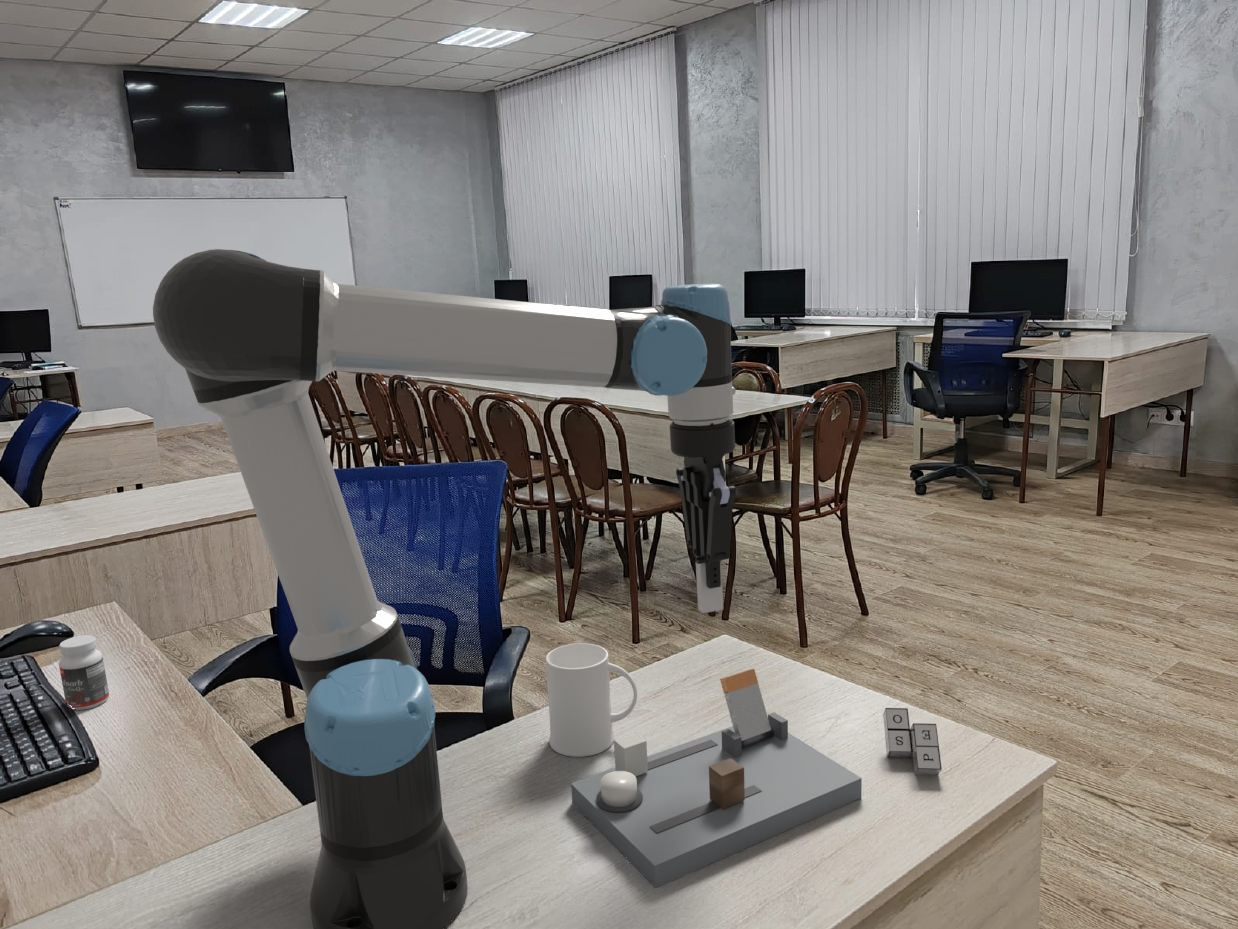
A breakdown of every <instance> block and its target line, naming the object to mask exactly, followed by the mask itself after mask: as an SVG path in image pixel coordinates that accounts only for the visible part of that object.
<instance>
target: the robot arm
mask: <svg viewBox="0 0 1238 929" xmlns="http://www.w3.org/2000/svg"><path fill="white" fill-rule="evenodd" d="M152 317H153V322H154V323H153V325H154V328H155V331H156V333H157V336H158V339H159V341H160V343H161V344H162V346H163V349H165V351H166V353H167V354H169V355H170V357H171V358H172V359H173V360H174V361H175V362H176V363H178V365H180V366H182V367H183V368H184V370H185V372H186V375H187V378H188V381H189V383H190V385H191V388H192V391H193V393H194V396H195V399H196V401H197V404H198V406H200V407H201V408H204V409H206V410H207V411H209V412H211V413H213V414H216V415H217V416H218V417H220V419H221V421H222V424H223V426H224V429H225V432H226V436H227V437H228V441H229V443H230V446H231V449H232V451H233V454H234V457H235V460H236V462H237V465H238V467H239V472H240V474H241V477H242V479H243V482H244V484H245V485H244V486H245V487H246V490H247V493H248V496H249V498H250V501H251V504H252V506H253V509H254V512H255V514H256V517H257V520H258V523H259V525H260V529H261V532H262V534H263V536H264V540H265V542H266V545H267V547H268V551H269V553H270V556H271V558H272V561H273V564H274V567H275V570H276V572H277V575H278V578H279V581H280V583H281V586H282V589H283V592H284V594H285V597H286V599H287V603H288V606H289V607H290V611H291V613H292V616H293V619H294V622H295V625H296V628H297V633H296V634H295V636H294V637H293V640H292V641H291V643H290V645H289V653H290V655H291V659H292V661H293V664H294V667H295V669H296V672H297V675H298V678H299V681H300V684H301V685H302V686H301V687H302V689H303V692H304V694H305V697H306V704H305V715H304V724H303V725H304V734H305V740H306V743H307V744H308V746H309V747H308V748H309V749H308V750H309V756H310V761H311V762H310V763H311V771H312V780H313V787H314V795H315V801H316V810H317V811H316V812H317V817H318V819H317V820H318V824H319V832H320V839H321V840H320V842H321V846H320V851H319V854H318V859H317V862H316V863H317V864H316V868H315V872H314V877H313V881H312V885H311V889H310V896H309V897H310V898H309V906H310V907H309V908H310V914H311V923H312V928H313V929H443V928H444V927H445V928H446V927H447V926H449V925H450V924H451V923H452V922H453V921H454V920H455V919H456V917H458V915H459V914H460V912H461V911H462V909H463V907H464V906H465V902H466V899H467V896H468V889H469V888H468V877H467V867H466V864H465V861H464V860H465V859H464V858H463V856H462V853H461V852H460V850H459V848H458V846H457V844H456V843H457V842H455V839H454V838H453V836H452V833H451V832H450V829H449V827H448V825H447V823H446V821H445V819H444V814H443V813H444V812H443V806H442V805H443V803H442V792H441V781H440V780H441V779H440V772H439V763H438V762H439V760H438V750H437V743H436V742H437V741H436V733H435V732H436V730H435V718H436V708H435V702H434V698H433V695H432V694H431V688H430V685H429V683H428V681H427V679H426V677H425V675H423V674H422V673H421V672H420V671H419V670H418V667H417V663H416V660H415V656H414V654H413V651H412V650H411V648H410V647H409V645H408V642H407V640H406V636H405V633H404V630H403V627H402V624H401V622H400V618H399V615H398V613H397V611H396V609H395V608H394V607H392V606H390V605H388V604H386V603H383V602H381V601H379V600H378V598H377V595H376V592H375V589H374V586H373V582H372V580H371V577H370V574H369V571H368V567H367V565H366V562H365V560H364V556H363V553H362V549H361V547H360V543H359V541H358V538H357V535H356V532H355V530H354V527H353V523H352V521H351V518H350V517H351V516H350V514H349V512H348V508H347V506H346V502H345V500H344V497H343V494H342V491H341V488H340V484H339V482H338V479H337V478H338V477H337V476H336V473H335V470H334V467H333V466H334V465H333V463H332V461H331V458H330V455H329V452H328V449H327V445H326V443H325V438H324V436H323V434H322V431H321V428H320V424H319V422H318V419H317V416H316V413H315V410H314V406H313V404H312V401H311V398H310V395H309V389H310V386H311V385H312V383H313V382H320V381H321V380H323V379H324V378H325V377H327V375H329V374H330V373H333V372H349V373H350V372H351V373H363V374H364V373H366V374H382V375H383V374H384V375H396V376H398V375H399V376H410V377H411V376H412V377H415V376H417V377H432V378H446V379H447V378H448V379H463V380H479V381H490V382H491V381H494V382H496V381H497V382H507V383H510V382H511V383H524V384H525V383H527V384H539V385H540V384H541V385H557V386H571V387H572V386H573V387H590V388H591V387H592V388H606V389H609V390H610V389H613V390H626V391H639V392H641V391H642V392H647V393H648V394H650V395H654V396H658V397H659V396H660V397H661V396H665V397H667V411H668V412H667V414H668V417H669V418H670V419H672V420H673V421H671V423H670V424H669V440H670V450H671V452H672V454H673V455H675V456H677V457H681V458H683V466H684V467H678V468H676V470H675V471H676V472H675V474H676V477H677V481H678V486H679V491H680V497H681V498H680V499H681V506H682V512H683V519H684V520H683V521H684V528H685V535H686V544H687V547H688V548H692V554H693V556H694V561H695V572H696V573H695V575H696V576H695V577H696V593H697V594H696V597H697V609H698V610H699V612H700V613H702V614H706V613H712V612H713V613H714V612H718V611H723V610H724V596H723V575H722V574H723V572H722V571H723V570H722V561H724V560H729V559H730V555H731V554H730V553H731V541H732V540H731V539H732V538H731V537H732V523H733V508H734V507H733V506H734V503H735V502H734V501H735V500H736V499H735V498H736V496H737V490H736V488H735V486H734V485H729V486H727V484H726V481H727V474H726V473H727V472H726V469H725V466H724V461H723V458H724V456H726V455H727V454H730V453H732V452H733V451H734V450H735V448H736V437H735V436H736V434H735V433H736V431H735V421H734V420H733V419H732V418H730V417H731V416H732V415H733V414H734V395H735V394H736V388H735V387H734V386H733V375H732V374H733V372H732V368H733V367H732V339H731V338H732V337H731V336H732V331H731V328H732V327H731V326H732V323H733V322H732V320H731V311H730V301H729V295H728V291H727V289H726V288H725V286H724V285H722V284H719V283H695V284H693V283H692V284H679V285H671V286H667V287H665V288H664V289H663V291H662V299H661V300H660V304H657V305H652V306H650V307H649V306H648V307H631V308H620V309H619V308H617V309H602V308H593V307H583V306H582V307H581V306H574V305H573V306H572V305H562V304H561V305H560V304H550V303H539V302H533V301H532V302H529V301H519V300H509V299H499V298H488V297H478V296H476V297H475V296H469V295H468V296H466V295H457V294H448V293H437V292H426V291H416V290H405V289H396V288H395V289H394V288H384V287H376V286H375V287H373V286H364V285H363V286H362V285H354V284H353V285H352V284H343V283H342V284H341V283H338V282H335V281H334V279H333V278H331V276H329V274H327V272H325V270H319V269H311V268H310V269H308V268H302V267H301V268H300V267H295V266H294V267H293V266H288V265H283V264H279V263H275V262H271V261H267V260H265V259H264V258H262V257H260V256H258V255H256V254H254V253H250V252H246V251H242V250H238V249H237V250H235V249H221V248H220V249H219V248H217V249H216V248H215V249H207V250H204V251H199V252H196V253H193V254H190V255H189V256H186V257H184V258H182V259H181V260H180V261H178V262H177V263H175V264H174V265H173V266H172V267H171V268H170V269H169V270H168V271H167V272H166V273H165V275H164V276H163V277H162V279H161V280H160V283H159V285H158V287H157V289H156V292H155V294H154V299H153V306H152ZM445 928H444V929H445Z"/></svg>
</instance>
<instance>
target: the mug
mask: <svg viewBox="0 0 1238 929" xmlns="http://www.w3.org/2000/svg"><path fill="white" fill-rule="evenodd" d="M545 667H546V668H545V669H546V681H547V683H546V684H547V695H548V696H547V698H548V699H547V700H548V713H549V715H548V716H549V724H550V725H549V731H550V732H549V733H550V734H549V739H548V740H549V746H550V748H551V750H554V751H555V752H556V753H557V754H561V755H563V756H567V757H573V758H575V757H576V758H582V757H583V758H584V757H585V758H586V757H590V756H594V755H597V754H601V753H603V752H605V751H606V750H608V749H609V748H610V747H611V746H612V745H614V740H615V733H614V730H613V724H614V723H617V722H619V721H621V720H624V719H625V718H627V717H628V716H629V715H630V714H631V712H633V710H634V708H635V706H636V704H637V701H638V688H637V685H636V683H635V680H634V678H633V677H632V675H631V674H630V673H629V672H628V671H627V670H625V669H624V668H623V667H621V666H619V665H617V664H614V663H611V662H610V661H609V652H608V651H607V649H606V648H604V647H603V646H600V645H597V644H592V643H584V642H583V643H570V644H564V645H561V646H557V647H556V648H554V649H552V650H550V651H549V652H548V653H547V654H546V657H545ZM610 673H615V674H618V675H620V676H621V677H624V679H626V680H627V682H629V684H630V686H631V688H632V692H633V697H632V701H631V703H630V704H629V706H628V707H627V708H626V709H624V710H623V711H620V712H616V713H615V712H613V713H612V705H611V704H612V703H611V702H612V701H611V684H610V682H611V680H610Z"/></svg>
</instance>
